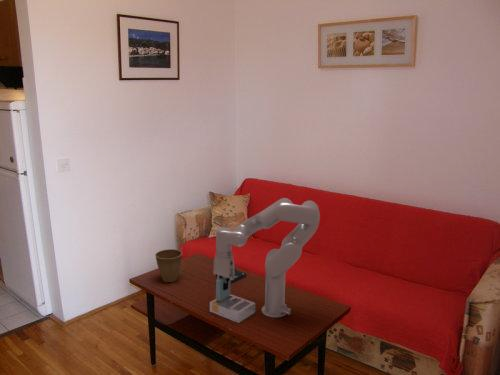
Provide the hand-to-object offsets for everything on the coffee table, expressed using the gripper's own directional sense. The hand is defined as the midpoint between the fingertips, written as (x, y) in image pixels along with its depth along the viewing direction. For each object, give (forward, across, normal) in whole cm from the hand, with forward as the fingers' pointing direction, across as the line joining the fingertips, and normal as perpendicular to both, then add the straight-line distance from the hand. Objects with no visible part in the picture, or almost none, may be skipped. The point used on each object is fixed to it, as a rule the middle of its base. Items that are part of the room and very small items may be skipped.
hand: (223, 288), depth 212 cm
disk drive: (+12, +20, -32) cm, 39 cm away
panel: (+5, 0, 0) cm, 5 cm away
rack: (+11, -6, 0) cm, 12 cm away
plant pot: (+12, +46, -7) cm, 48 cm away
